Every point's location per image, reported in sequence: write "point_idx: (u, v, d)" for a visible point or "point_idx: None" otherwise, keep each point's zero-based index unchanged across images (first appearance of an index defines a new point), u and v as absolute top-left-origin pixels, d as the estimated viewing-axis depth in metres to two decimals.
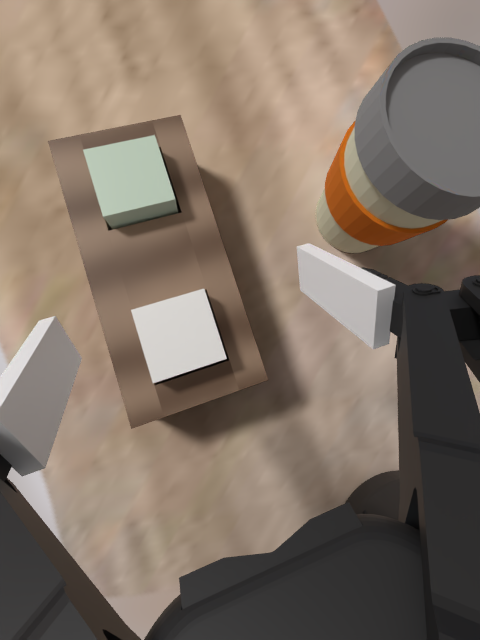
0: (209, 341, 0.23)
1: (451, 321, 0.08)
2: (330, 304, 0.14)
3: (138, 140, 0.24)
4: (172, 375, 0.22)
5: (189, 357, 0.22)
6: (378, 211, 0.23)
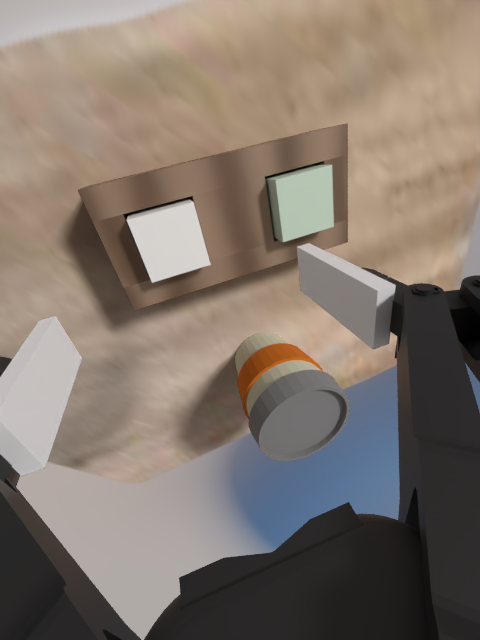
0: (166, 269, 0.27)
1: (451, 321, 0.08)
2: (330, 305, 0.14)
3: (331, 213, 0.30)
4: (135, 237, 0.25)
5: (151, 252, 0.26)
6: (258, 383, 0.35)
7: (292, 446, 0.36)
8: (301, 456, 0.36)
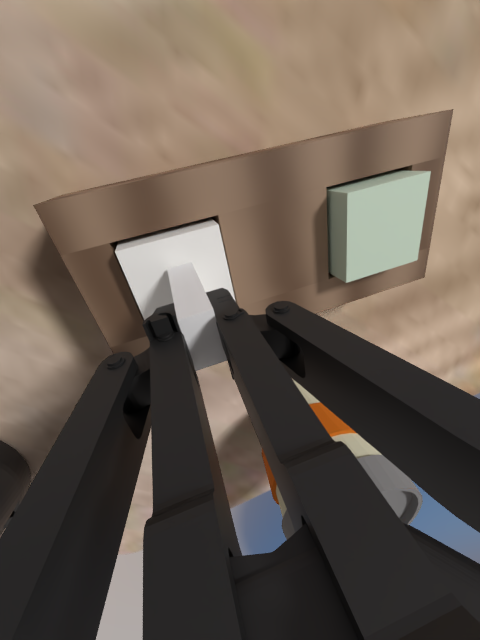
0: None
1: (261, 335, 0.09)
2: None
3: (418, 241, 0.20)
4: (127, 277, 0.16)
5: (152, 297, 0.17)
6: None
7: None
8: None
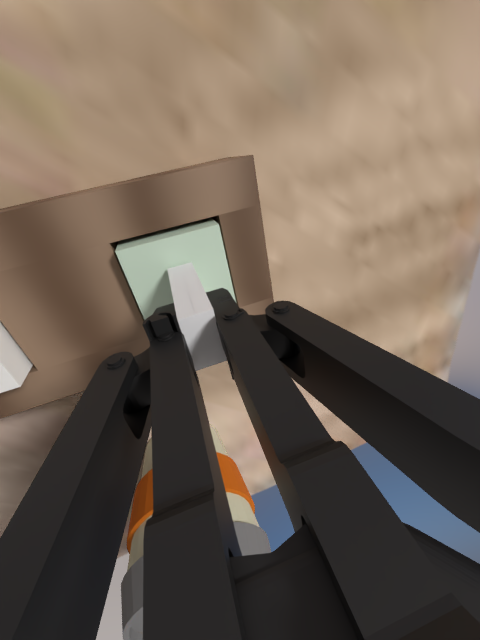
0: None
1: (261, 335, 0.09)
2: None
3: (231, 293, 0.19)
4: None
5: None
6: (141, 533, 0.23)
7: None
8: None
